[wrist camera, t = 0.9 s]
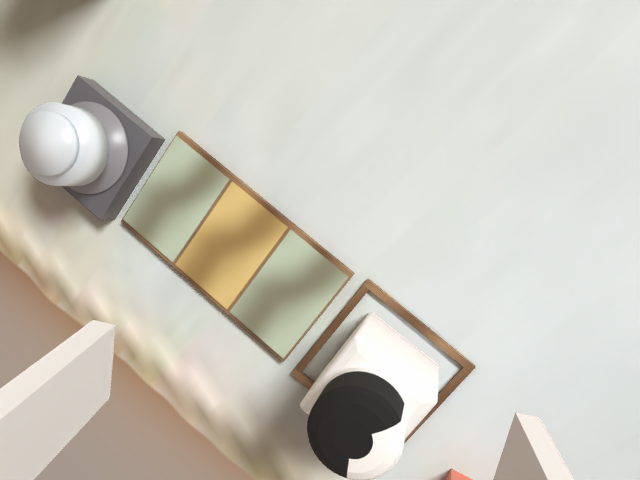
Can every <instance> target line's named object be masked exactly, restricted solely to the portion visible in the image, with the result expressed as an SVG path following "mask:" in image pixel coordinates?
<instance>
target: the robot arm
mask: <svg viewBox="0 0 640 480" xmlns="http://www.w3.org/2000/svg"><path fill="white" fill-rule="evenodd" d="M115 326H116V325H113V324H109V323H104V322H99V321H95V320H93V321H91V322H90V323H89V324H87V325H86V326H85V327H83V328H82V329H81V330H80V331H78V332H77V333H75V334H74V335H72V336H71V337H70V338H68V339H67V340H66V341H64V342H63V343H62V344H60V345H59V346H58V347H56V348H55V349H54V350H52V351H51V352H50V353H48V354H47V355H45V356H44V357H43V358H41V359H40V360H39V361H38V362H36V363H35V364H33V365H32V366H30V367H29V368H28V369H27V370H25V371H24V372H22V373H21V374H20V375H18V376H17V377H16V378H14V379H13V380H12V381H10V382H9V383H8V384H6V385H5V386H3V387H2V388H1V389H0V480H34V479H35V478H36V477H37V476H38V475H39V474H40V473H41V472H42V470H43V469H44V468H45V467H46V466H47V465H48V464H49V463H50V462H51V460H53V459H54V457H55V456H56V455H57V454H58V453H59V452H60V451H61V450H62V449H63V448H64V446H66V444H67V443H68V442H69V441H70V440H71V439H72V438H73V437H74V436H75V435H76V434H77V433H78V432H79V430H80V429H81V428H82V427H83V426H84V425H85V424H86V423H87V422H88V421H89V419H91V417H92V416H93V415H94V414H95V413H96V412H97V411H98V410H99V409H100V408H101V407H102V406H103V404H104V403H105V402H106V401H107V400H108V399H109V398H110V387H111V375H112V362H113V350H114V338H115ZM493 480H574V478H573V477H572V475H571V473H570V471H569V469H568V468H567V466H566V464H565V462H564V460H563V459H562V457H561V455H560V453H559V451H558V449H557V448H556V446H555V444H554V442H553V440H552V439H551V437H550V435H549V433H548V431H547V430H546V428H545V426H544V424H543V422H542V420H541V419H540V418H539V417H534V416H530V415H525V414H521V413H515V416H514V419H513V422H512V425H511V428H510V431H509V434H508V437H507V440H506V443H505V446H504V449H503V452H502V455H501V458H500V461H499V464H498V467H497V470H496V473H495V476H494V479H493Z"/></svg>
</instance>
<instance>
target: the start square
mask: <svg viewBox="0 0 640 480" xmlns="http://www.w3.org/2000/svg"><path fill="white" fill-rule="evenodd" d="M368 290H370V291H371V292H372V293H373V294H375V295H376V296H377V297H378V298H380V299H381V300H382V301H383V302H384V303H386V304H387V305H388V306H389V307H391V308H392V309H393V310H394V311H395V312H397V313H398V314H399V315H400V316H402V317H403V318H404V319H405V320H406V321H408V322H409V323H410V324H411V325H412V326H414V327H415V328H416V329H417V330H419V331H420V332H421V333H422V334H423V335H425V336H426V337H427V338H428V339H430V340H431V341H432V342H433V343H434V344H436V345H437V346H438V347H439V348H440V349H442V350H443V351H444V352H445V353H447V354H448V355H449V356H450V357H451V358H453V359H454V360H455V361H456V362H458V363H459V364H460V365H461V366H462V367H463V368H462V369H461V370H460V371H459V372H458V373H457V374H456V375H455V376H454V377H453V378H452V379H451V381H450V382H449V383H448V384H447V385H446V386H445V387H444V388H443V389H442V390H441V391H440V392H439V394H438V401H437V404H436V405H435V406H434V407H433V408H432V409H431V411H430V412H429V413H428V414H427V415H426V416H425V417H424V418H423V420H422V421H421V422H420V423H419V424H418V425H417V426H416V427H415V429H414V430H413V431H412V432H411V433H410V434H409V435H408V437H407V438H406V439H405V441H404V443H405V442H406V441H407V440H408V439H409V438H410V437H411V436H412V435H413V434H414V433H415V432H416V430H417V429H418V428H419V427H420V426H421V425H422V424H423V423H424V422H425V421H426V420H427V419H428V418H429V417H430V415H431V414H432V413H433V412H434V411H435V410H436V409H437V408H438V407H439V406H440V405H441V404H442V403H443V402H444V400H445V399H446V398H447V397H448V396H449V395H450V394H451V393H452V392H453V391H454V390H455V389H456V388H457V387H458V385H459V384H460V383H461V382H462V381H463V380H464V379H465V378H466V377H467V376H468V375H469V374H470V373H471V371H472V370H473V369H474V368H475V365H474V364H472V363H471V362H470V361H469V360H467V359H466V358H465V357H464V356H463V355H461V354H460V353H459V352H458V351H456V350H455V349H454V348H453V347H452V346H450V345H449V344H448V343H447V342H445V341H444V340H443V339H442V338H441V337H439V336H438V335H437V334H436V333H434V332H433V331H432V330H431V329H429V328H428V327H427V326H426V325H425V324H423V323H422V322H421V321H420V320H418V319H417V318H416V317H415V316H414V315H412V314H411V313H410V312H409V311H407V310H406V309H405V308H404V307H403V306H401V305H400V304H399V303H398V302H396V301H395V300H394V299H393V298H392V297H390V296H389V295H388V294H387V293H385V292H384V291H383V290H382V289H381V288H379V287H378V286H377V285H376V284H374V283H373V282H372V281H371V280H370V279H368V280H367V281H366V282H365V283H364V285H363V286H362V287H361V288H360V289H359V291H358V292H357V293H356V294H355V296H354V297H353V298H352V299H351V301H350V302H349V303H348V304H347V305H346V307H345V308H344V309H343V310H342V312H341V313H340V314H339V315H338V317H337V318H336V319H335V320H334V321H333V323H332V324H331V325H330V326H329V328H328V329H327V330H326V331H325V332H324V334H323V335H322V336H321V337H320V339H319V340H318V341H317V342H316V344H315V345H314V346H313V347H312V348H311V350H310V351H309V352H308V353H307V355H306V356H305V357H304V358H303V360H302V361H301V362H300V363H299V364H298V366H297V367H296V368H295V369H294V371H293V372H292V373H291V374H292V375H293V376H294V377H295V378H296V379H297V380H299V381H300V382H301V383H302V384H303V385H304V386H305V387H307V388H308V389H309V390H310V388H311V387H312V385H313V384H314V382H313V381H312V380H310V379H309V378H308V377H307V376H306V375H305V374H303V373H302V371H303V369H304V368H305V367H306V366H307V365H308V363H309V362H310V361H311V360H312V359H313V357H314V356H315V355H316V354H317V352H318V351H319V350H320V349H321V348H322V346H323V345H324V344H325V343H326V341H327V340H328V339H329V338H330V337H331V335H332V334H333V333H334V332H335V330H336V329H337V328H338V327H339V326H340V324H341V323H342V322H343V321H344V319H345V318H346V317H347V316H348V315H349V313H350V312H351V311H352V310H353V308H354V307H355V306H356V305H357V304H358V302H359V301H360V300H361V299H362V298H363V296H364V295H365V294H366V293H367V291H368Z"/></svg>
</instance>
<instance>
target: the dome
mask: <svg viewBox="0 0 640 480" xmlns="http://www.w3.org/2000/svg"><path fill="white" fill-rule="evenodd" d="M19 147H20V153H21V157H22V160H23V162H24V165H25V166H26V168H27V170H28V171H29V172H30V174H31V175H32V176H33V177H34V178H36V179H37V180H38V181H40V182H42V183H44V184H46V185H51V186H83V185H87V184H89V183H91V182H93V181H94V180H95V179H97V178H98V177H99V176H100V175H101V173H102V172H103V170H104V168H105V166H106V164H107V161H108V157H109V140H108V135H107V132H106V130H105V128H104V126H103V124H102V122H101V121H100V120H99V119H98V118H97V117H96V116H95V115H94V114H93V113H92V112H90V111H88V110H86V109H83V108H79V107H75V106H70V105H65V104H61V103H56V102H49V103H44V104H41V105H39V106H37V107H36V108H34V109H33V110H32V111H31V112H30V113H29V114H28V116H27V117H26V119H25V120H24V123H23V125H22V128H21V132H20V137H19Z"/></svg>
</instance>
